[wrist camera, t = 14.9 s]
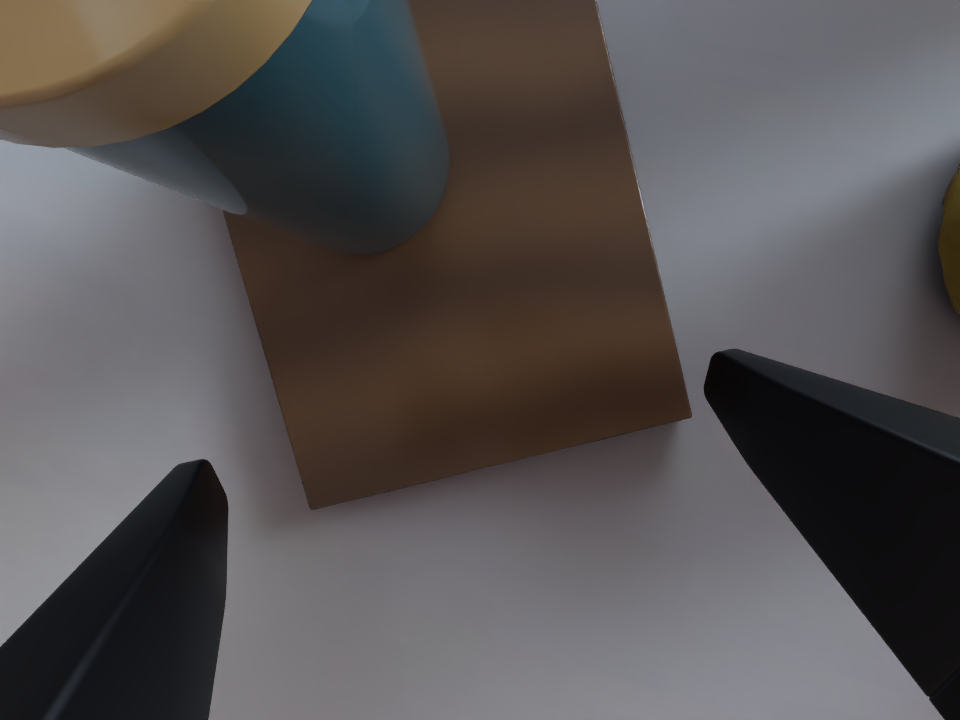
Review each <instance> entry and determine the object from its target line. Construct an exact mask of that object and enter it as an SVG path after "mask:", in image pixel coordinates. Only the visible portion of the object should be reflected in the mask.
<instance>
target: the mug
mask: <svg viewBox="0 0 960 720" xmlns="http://www.w3.org/2000/svg"><path fill="white" fill-rule="evenodd" d="M942 203H943V207H944V214H943V220H942V224H941V228H940V232H939V236H938V253H939V256H940V259H941V263H942V266H943V275H944V282H945V286H946V289H947V292H948V295H949V297H950V301H951V305H952V307H953V308H954V309H955V310H956V311H957V312H958V314H959V315H960V165H959V168H958V170H957V172H956V174H955V176H954V177H953V178H952V180H951V181H950V183H949V185H948V187H947V190H946V193H945V195H944V199H943V202H942Z"/></svg>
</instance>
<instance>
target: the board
mask: <svg viewBox="0 0 960 720" xmlns="http://www.w3.org/2000/svg"><path fill="white" fill-rule="evenodd" d="M408 1H409V4H410V8H411V11H412V15H413V18H414V22H415V25H416V29H417V32H418V36H419V39H420V42H421V46H422V49H423V53H424V56H425V60H426V63H427V67H428V70H429V74H430V77H431V81H432V84H433V88H434V91H435V95H436V98H437V101H438V105H439V108H440V112H441V115H442V119H443V122H444V126H445V129H446V133H447V136H448V142H449V149H450V168H449V177H448V181H447V185H446V189H445V192H444V194H443V197H442V200H441V202H440V204H439V205H438V207H437V209H436V211H435V213H434V214H433V215H432V217H431V218H430V220H429V221H428V222H427V223H426V224H425V225H424V226H423V228H422V229H421V230H420V231H419V232H417V233H416V234H415V235H414V236H413V237H411V238H410V239H409V240H407V241H405V242H404V243H402V244H401V245H399V246H396V247H394V248H392V249H390V250H387V251H383V252H380V253H376V254H370V255H355V256H353V255H344V254H338V253H334V252H330V251H327V250H325V249H322V248H320V247H317V246H315V245H312V244H309V243H307V242H304V241H302V240H299V239H297V238H294V237H291V236H289V235H286V234H284V233H281V232H279V231H276V230H273V229H271V228H268V227H266V226H263V225H261V224H258V223H255V222H253V221H250V220H248V219H245V218H243V217H240V216H237V215H235V214H232V213H230V212H227V211H224V210H223V213H224V217H225V220H226V223H227V227H228V230H229V234H230V237H231V240H232V244H233V247H234V251H235V254H236V258H237V261H238V264H239V268H240V271H241V275H242V278H243V281H244V285H245V288H246V292H247V295H248V299H249V302H250V305H251V309H252V312H253V316H254V319H255V322H256V326H257V329H258V333H259V336H260V340H261V343H262V346H263V350H264V353H265V357H266V360H267V364H268V367H269V370H270V374H271V377H272V381H273V384H274V387H275V391H276V394H277V398H278V401H279V405H280V408H281V411H282V415H283V418H284V422H285V425H286V428H287V432H288V435H289V439H290V442H291V446H292V449H293V452H294V456H295V459H296V463H297V466H298V469H299V473H300V476H301V480H302V483H303V487H304V490H305V493H306V497H307V500H308V504H309V507H310V509H311V510H314V509H319V508H323V507H327V506H331V505H335V504H339V503H343V502H347V501H351V500H356V499H360V498H364V497H368V496H372V495H376V494H380V493H384V492H388V491H393V490H397V489H401V488H405V487H409V486H413V485H417V484H421V483H425V482H430V481H434V480H438V479H442V478H446V477H450V476H454V475H458V474H463V473H467V472H471V471H475V470H479V469H483V468H487V467H491V466H495V465H500V464H504V463H508V462H512V461H516V460H520V459H524V458H528V457H532V456H537V455H541V454H545V453H549V452H553V451H557V450H561V449H565V448H569V447H574V446H578V445H582V444H586V443H590V442H594V441H598V440H602V439H606V438H611V437H615V436H619V435H623V434H627V433H631V432H635V431H639V430H643V429H648V428H652V427H656V426H660V425H664V424H668V423H672V422H676V421H681V420H685V419H689V418H691V417H692V412H691V408H690V403H689V399H688V395H687V390H686V386H685V382H684V377H683V373H682V369H681V364H680V360H679V356H678V352H677V347H676V343H675V339H674V334H673V330H672V326H671V321H670V317H669V313H668V308H667V304H666V300H665V295H664V291H663V287H662V282H661V278H660V274H659V269H658V265H657V261H656V256H655V252H654V248H653V243H652V239H651V235H650V230H649V226H648V222H647V218H646V213H645V209H644V205H643V200H642V196H641V192H640V187H639V183H638V179H637V174H636V170H635V166H634V161H633V157H632V153H631V148H630V144H629V140H628V135H627V131H626V127H625V122H624V118H623V114H622V109H621V105H620V101H619V96H618V92H617V88H616V84H615V79H614V75H613V71H612V66H611V62H610V58H609V53H608V49H607V45H606V40H605V36H604V32H603V27H602V23H601V19H600V14H599V10H598V6H597V1H596V0H408Z"/></svg>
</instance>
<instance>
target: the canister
mask: <svg viewBox="0 0 960 720" xmlns="http://www.w3.org/2000/svg"><path fill="white" fill-rule="evenodd" d="M0 140H4V141H8V142H12V143H16V144H25V145H34V146H43V147H52V148H65V149H67V150H70V151H73V152H75V153H78V154H80V155H83V156H85V157H88V158H91V159H93V160H96V161H98V162H101V163H103V164H106V165H109V166H111V167H114V168H116V169H119V170H122V171H124V172H127V173H129V174H132V175H134V176H137V177H140V178H142V179H145V180H147V181H150V182H152V183H155V184H158V185H160V186H163V187H165V188H168V189H170V190H173V191H176V192H178V193H181V194H183V195H186V196H188V197H191V198H194V199H196V200H199V201H201V202H204V203H206V204H209V205H212V206H214V207H217V208H219V209H222V210H224V211H227V212H230V213H232V214H235V215H237V216H240V217H243V218H245V219H248V220H250V221H253V222H255V223H258V224H261V225H263V226H266V227H268V228H271V229H273V230H276V231H279V232H281V233H284V234H286V235H289V236H291V237H294V238H297V239H299V240H302V241H304V242H307V243H309V244H312V245H315V246H317V247H320V248H322V249H325V250H327V251H330V252H334V253H338V254H344V255H353V256H355V255H370V254H376V253H380V252H383V251H387V250H390V249H392V248H394V247H396V246H399V245H401V244H402V243H404V242H405V241H407V240H409V239H410V238H411V237H413V236H414V235H415V234H416V233H417V232H419V231H420V230H421V229H422V228H423V226H424V225H425V224H426V223H427V222H428V221H429V220H430V218H431V217H432V215H433V214H434V213H435V211H436V209H437V207H438V205H439V204H440V202H441V200H442V197H443V194H444V192H445V189H446V185H447V181H448V177H449V168H450V149H449V142H448V136H447V133H446V129H445V126H444V122H443V119H442V115H441V112H440V108H439V105H438V101H437V98H436V95H435V91H434V88H433V84H432V81H431V77H430V74H429V70H428V67H427V63H426V60H425V56H424V53H423V49H422V46H421V42H420V39H419V36H418V32H417V29H416V25H415V22H414V18H413V15H412V11H411V8H410V4H409V1H408V0H0Z"/></svg>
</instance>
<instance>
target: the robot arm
mask: <svg viewBox="0 0 960 720" xmlns="http://www.w3.org/2000/svg"><path fill="white" fill-rule="evenodd" d="M704 395H705V397H706V400H707V401H708V403H709V404H710V406H711V408H712V409H713V411H714V412H715V414H716V416H717V417H718V419H719V420H720V422H721V424H722V425H723V427H724V428H725V430H726V432H727V433H728V435H729V436H730V438H731V440H732V441H733V443H734V444H735V446H736V448H737V449H738V451H739V452H740V454H741V455H742V457H743V458H744V460H745V461H746V463H747V464H748V466H749V467H750V468H751V470H752V471H753V472H754V474H755V475H756V476H757V478H758V479H759V480H760V481H761V483H762V484H763V485H764V487H765V488H766V489H767V491H768V492H769V493H770V494H771V496H772V497H773V498H774V500H775V501H776V502H777V503H778V505H779V506H780V507H781V509H782V510H783V511H784V512H785V514H786V515H787V516H788V518H789V519H790V520H791V521H792V523H793V524H794V525H795V527H796V528H797V529H798V531H799V532H800V533H801V534H802V536H803V537H804V538H805V540H806V541H807V542H808V543H809V545H810V546H811V547H812V549H813V550H814V551H815V552H816V554H817V555H818V556H819V558H820V559H821V560H822V561H823V563H824V564H825V565H826V567H827V568H828V569H829V571H830V572H831V573H832V574H833V576H834V577H835V578H836V580H837V581H838V582H839V583H840V585H841V586H842V587H843V589H844V590H845V591H846V592H847V594H848V595H849V596H850V598H851V599H852V600H853V601H854V603H855V604H856V605H857V607H858V608H859V609H860V610H861V612H862V613H863V614H864V616H865V617H866V618H867V620H868V621H869V622H870V623H871V625H872V626H873V627H874V629H875V630H876V631H877V632H878V634H879V635H880V636H881V638H882V639H883V640H884V641H885V643H886V644H887V645H888V647H889V648H890V649H891V650H892V652H893V653H894V654H895V656H896V657H897V658H898V660H899V661H900V662H901V663H902V665H903V666H904V667H905V669H906V670H907V671H908V672H909V674H910V675H911V676H912V678H913V679H914V680H915V681H916V683H917V684H918V685H919V687H920V688H921V689H922V690H923V692H924V693H925V694H926V695H927V696H928V697H929V700H930V701H931V703H932V704H933V705H934V707H935V708H936V709H937V710H938V712H939V713H940V714H941V716H942V717H943V718H944V719H945V720H960V418H958V417H954V416H951V415H948V414H945V413H942V412H938V411H935V410H932V409H929V408H926V407H922V406H919V405H916V404H913V403H910V402H906V401H903V400H900V399H897V398H894V397H890V396H887V395H884V394H881V393H877V392H874V391H871V390H868V389H865V388H861V387H858V386H855V385H852V384H849V383H845V382H842V381H839V380H836V379H833V378H829V377H826V376H823V375H820V374H817V373H813V372H810V371H807V370H804V369H801V368H797V367H794V366H791V365H788V364H784V363H781V362H778V361H775V360H772V359H768V358H765V357H762V356H759V355H756V354H752V353H749V352H746V351H743V350H740V349H728V350H723V351H719V352H716V353H714V355H713V356H712V357H711V360H710V364H709V368H708V372H707V375H706V379H705V383H704ZM227 543H228V501H227V496H226V493H225V491H224V489H223V487H222V485H221V483H220V481H219V479H218V477H217V475H216V473H215V471H214V469H213V467H212V465H211V463H210V462H209V461H208V460H205V459H200V460H195V461H191V462H186V463H182V464H179V465H177V466H176V467H175V468H173V470H172V471H171V472H170V473H169V474H168V475H167V476H166V477H165V478H164V479H163V480H162V481H161V482H160V483H159V484H158V485H157V486H156V487H155V488H154V489H153V490H152V491H151V492H150V493H149V494H148V495H147V496H146V497H145V498H144V499H143V500H142V501H141V503H140V504H139V505H138V506H137V507H136V508H135V509H134V510H133V511H132V512H131V513H130V514H129V515H128V516H127V517H126V518H125V519H124V520H123V521H122V522H121V523H120V524H119V525H118V526H117V527H116V528H115V529H114V530H113V531H112V532H111V533H110V534H109V536H108V537H107V538H106V539H105V540H104V541H103V542H102V543H101V544H100V545H99V546H98V547H97V548H96V549H95V550H94V551H93V552H92V553H91V554H90V555H89V556H88V557H87V558H86V559H85V560H84V561H83V562H82V563H81V564H80V565H79V566H78V567H77V569H76V570H75V571H74V572H73V573H72V574H71V575H70V576H69V577H68V578H67V579H66V580H65V581H64V582H63V583H62V584H61V585H60V586H59V587H58V588H57V589H56V590H55V591H54V592H53V593H52V594H51V595H50V596H49V597H48V598H47V599H46V601H45V602H44V603H43V604H42V605H41V606H40V607H39V608H38V609H37V610H36V611H35V612H34V613H33V614H32V615H31V616H30V617H29V618H28V619H27V620H26V621H25V622H24V623H23V624H22V625H21V626H20V627H19V628H18V629H17V630H16V631H15V632H14V634H13V635H12V636H11V637H10V638H9V639H8V640H7V641H6V642H5V643H4V644H3V645H2V646H1V647H0V720H208V718H209V712H210V705H211V698H212V691H213V684H214V678H215V671H216V664H217V657H218V651H219V644H220V637H221V630H222V623H223V617H224V609H225V600H226V584H227Z"/></svg>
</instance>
